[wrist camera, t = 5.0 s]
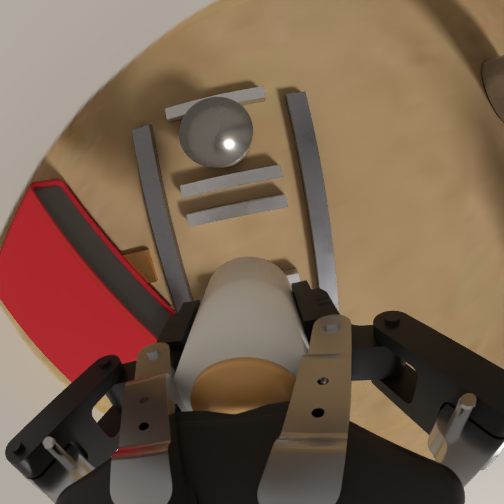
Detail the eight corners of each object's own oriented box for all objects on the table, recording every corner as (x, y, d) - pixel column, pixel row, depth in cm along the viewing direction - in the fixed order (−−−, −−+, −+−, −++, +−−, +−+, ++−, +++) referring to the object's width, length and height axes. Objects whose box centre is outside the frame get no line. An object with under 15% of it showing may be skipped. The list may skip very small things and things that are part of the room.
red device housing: (14, 265, 24) (-12, 280, 19) (61, 177, 21) (27, 183, 16) (107, 372, 28) (90, 399, 23) (179, 315, 25) (164, 346, 20)
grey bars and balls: (301, 85, 20) (316, 61, 14) (338, 349, 27) (354, 384, 21) (95, 138, 21) (59, 133, 15) (167, 376, 27) (155, 411, 22)
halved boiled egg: (284, 248, 13) (317, 332, 6) (297, 325, 14) (325, 434, 7) (196, 265, 14) (146, 356, 6) (218, 339, 15) (198, 448, 8)
